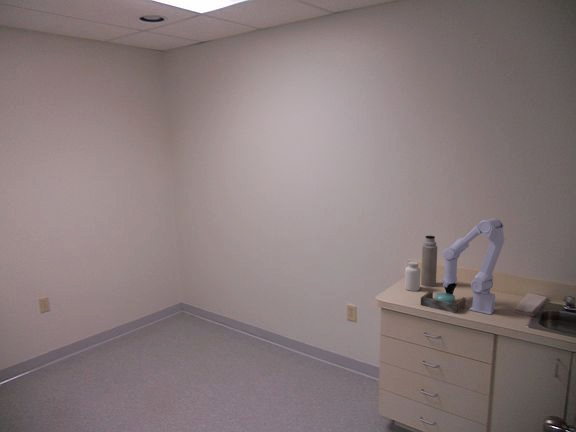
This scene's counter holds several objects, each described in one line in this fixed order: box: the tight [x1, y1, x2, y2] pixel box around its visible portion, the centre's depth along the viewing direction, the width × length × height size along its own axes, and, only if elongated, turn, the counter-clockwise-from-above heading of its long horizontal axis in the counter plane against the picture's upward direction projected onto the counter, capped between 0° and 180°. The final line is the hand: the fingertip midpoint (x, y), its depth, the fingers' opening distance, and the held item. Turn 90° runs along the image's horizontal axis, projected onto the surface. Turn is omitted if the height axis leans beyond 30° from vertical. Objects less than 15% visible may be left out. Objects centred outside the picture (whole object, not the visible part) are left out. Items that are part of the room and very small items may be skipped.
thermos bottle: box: [420, 235, 438, 288], centre depth 237 cm, size 8×8×28 cm
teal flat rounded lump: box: [434, 292, 456, 304], centre depth 209 cm, size 9×9×4 cm
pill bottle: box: [404, 261, 421, 292], centre depth 231 cm, size 8×8×15 cm
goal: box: [420, 290, 467, 314], centre depth 207 cm, size 17×12×4 cm
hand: (449, 297), depth 214 cm, fingers closed
